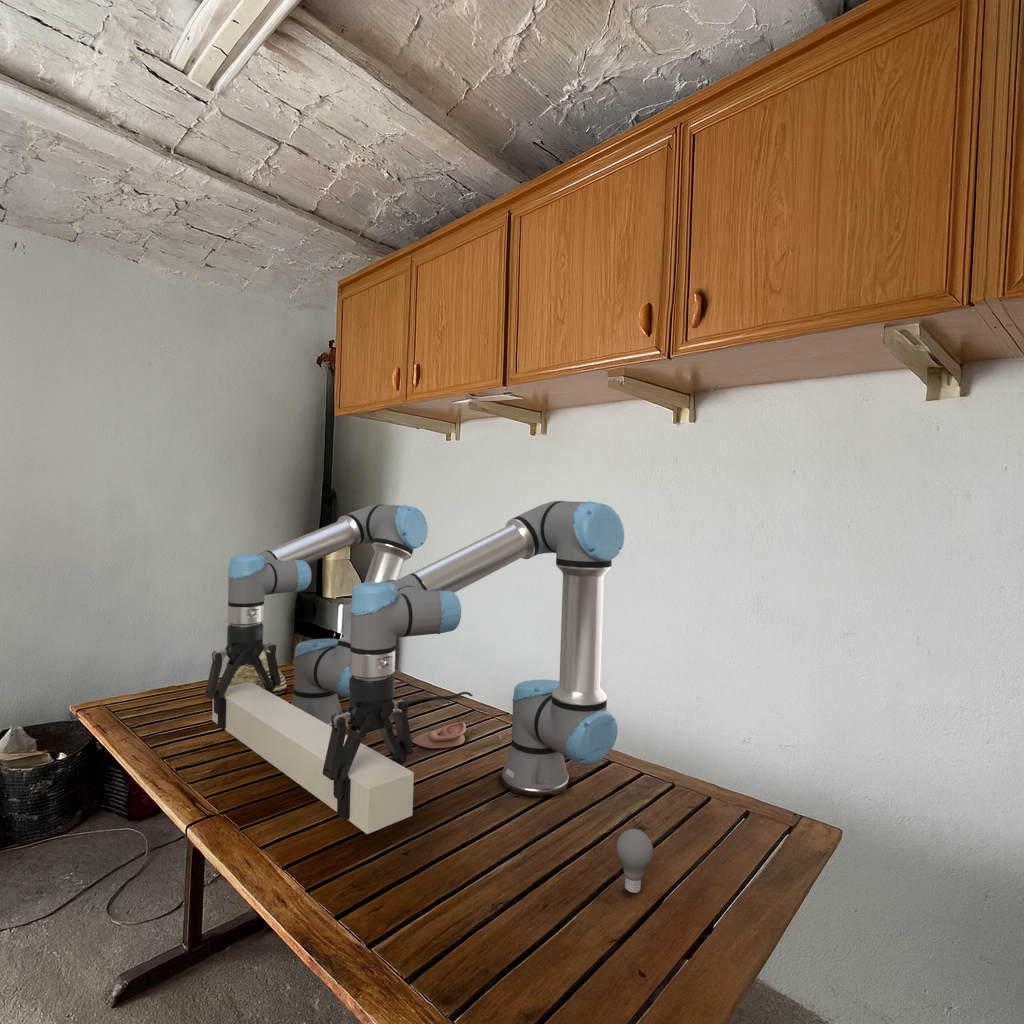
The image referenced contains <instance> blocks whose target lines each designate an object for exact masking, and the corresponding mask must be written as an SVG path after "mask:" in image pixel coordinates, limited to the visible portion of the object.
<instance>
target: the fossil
mask: <svg viewBox="0 0 1024 1024" xmlns="http://www.w3.org/2000/svg"><path fill="white" fill-rule="evenodd" d="M259 657H260V659H261V661H262V665H263V667H264V669H265V671H266V673H267V675H268V677H269V679H270V681H271V677H270V672H269V667H268V663H267V658H266V653H265V652H264V650H263V652H262V653H261V655H260V656H259ZM228 661H229V659H228V660H227V663H228ZM227 663H226V666H225V668H224V671H225V670H226V667H227ZM278 670H279V676H280V681H281V684H280V685H279V686H275V689H274V690H273V691H272V694H274V695H276V696H277V695H281V694H284V693H285V691H286V689H287V687H288V686H287V680H286V678H285V676H284V674H283V673H282V672H281V669H279V668H278ZM247 682H252V683H254V684H256V685H258V686H259V687H261V688H264V689H265V687H264V685H263V684H262V682H261V680H260V678H259V676H258V674H257V672H256V670H255V668H254V666H253V664H250V665H249V664H246V665H244V666H239V668H238V670H237V671H236V672H235V674H234V676H233V678H232V680H231V682H230V684H229V686H231V685H237V684H242V683H247Z"/></svg>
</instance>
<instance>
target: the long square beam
mask: <svg viewBox="0 0 1024 1024" xmlns="http://www.w3.org/2000/svg"><path fill="white" fill-rule="evenodd" d="M223 698H225V699H226V729H223V730H225V731H226V733H229V734H230V735H231V736H233V737H234V738H236V739H237V740H238V741H239V742H241V743H242V744H244V745H245V746H246V747H248V748H249V749H250V750H251V751H253V752H254V753H255V754H257V755H258V756H259V757H261V758H263V759H264V760H265V761H267V762H268V763H269V764H271V765H272V766H274V767H275V768H276V769H277V770H279V771H280V772H282V773H283V774H284V775H286V776H287V777H289V778H290V779H291V780H293V781H294V782H295V783H296V784H297V785H300V787H302V788H303V789H305V790H306V791H307V792H309V793H310V794H311V795H313V796H314V797H315V798H316V799H318V800H320V801H321V802H322V803H324V804H325V805H327V806H329V808H331V809H332V810H333V811H335V812H336V813H337V799H336V798H335V797H334V795H333V790H334V780H330V779H329V778H327V777H326V776H324V775H323V767H324V763H325V758H326V754H327V749H328V745H329V740H330V736H331V731H332V727H331V726H329V725H328V724H326V723H324V722H322V721H320V720H319V719H317V718H315V717H313V716H312V715H310V714H308V713H306V712H304V711H303V710H301V709H299V708H297V707H295V706H294V705H292V704H291V702H288V701H287V700H284V699H283V698H281V697H279V696H277V694H276V695H274V694H272V693H270V692H268V691H267V690H265V689H263V688H261V687H259V686H258V685H256V684H254V683H252V682H247V683H242V684H237V685H231V686H228V688H227V690H226V692H225V694H224V696H223ZM211 713H212V714H211V715H212V718H211V721H212V722H214V723H215V724H216V725H218V714H216V713H215V712H214V699H212V712H211ZM347 736H348V734H346V736H345V740H344V744H345V741H346V739H347ZM343 746H344V745H343ZM391 759H392V758H391ZM391 759H389V757H387V756H385V755H384V754H382V753H380V752H378V751H376V750H375V749H373V748H370V747H369V746H367V745H365V744H363V743H362V742H361V743H360V746H359V748H358V750H357V753H356V755H355V758H354V760H353V763H352V765H351V767H350V770H349V772H348V775H347V777H348V778H349V779H351V787H350V819H347V820H346V821H348V822H350V823H351V824H352V825H354V826H355V827H357V828H358V829H359V830H360V831H362V832H363V833H365V834H366V835H369V834H371V833H375V832H376V831H379V830H381V829H384V828H386V827H388V826H390V825H393V824H396V823H399V822H400V821H403V820H405V819H408V818H410V817H412V816H413V811H414V809H413V808H414V807H413V806H414V782H415V780H414V779H415V772H414V771H412V770H410V769H409V768H406V767H405V766H403V765H402V766H401V765H399V764H398V763H396V762H394V761H392V760H391Z"/></svg>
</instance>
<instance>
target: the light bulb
mask: <svg viewBox="0 0 1024 1024" xmlns="http://www.w3.org/2000/svg"><path fill="white" fill-rule="evenodd" d="M615 849H616V854H617V857H618V859H619V861H620V863H621V865H622V867H623V873H624V874H623V875H624V876H625V878H624V888H625V890H627V891H628V892H630V893H634V894H635V893H639V892H640V891H641V889H642V887H641V886H642V879H643V877H644V875H645V871H646V868H647V867H648V866H649V864H650V863H651V861H652V859H653V855H654V847H653V843H652V841H651V838H649V836H648V835H647V834H646V833H645V832H643V831H642V830H641V829H636V828H629V829H627V830H625V831H623V832H622V833H621V834H620V835H619V837H618V839H617V841H616V847H615Z"/></svg>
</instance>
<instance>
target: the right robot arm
mask: <svg viewBox="0 0 1024 1024" xmlns="http://www.w3.org/2000/svg"><path fill="white" fill-rule="evenodd" d="M624 543H625V527H624V524H623V521H622V519H621V517H620V515H619V514H618V513H617V512H616V510H615V509H613V508H612V507H611V506H610V505H607V504H605V503H600V502H596V501H591V500H589V501H570V500H569V501H568V500H553V501H549V502H546V503H543V504H541V505H538V506H536V507H534V508H531V509H530V510H529V509H528V510H527V511H525V512H523V513H521V514H519V515H517V516H515V517H512V518H511V519H509V520H508V521H507V522H506V524H505V527H502V528H501V529H499V530H497V531H494V532H493V533H491V534H489V535H487V536H484V537H483V538H481V539H478V540H476V541H475V542H473V543H470V544H469V545H466V546H464V547H462V548H460V549H458V550H456V551H454V552H452V553H450V554H447V555H446V556H444V557H441V558H440V559H437V560H436V561H433V562H431V563H430V564H428V565H426V566H423V567H422V568H419V569H418V570H416V571H414V572H411V573H409V574H407V575H404V576H402V577H401V578H400V577H399V579H398V580H383V581H381V582H366V583H364V582H361V583H358V584H357V585H355V586H354V587H353V589H352V594H351V603H350V610H349V611H350V612H349V614H350V623H351V646H350V665H349V673H350V674H351V675H352V676H351V677H350V678H349V698H348V699H349V700H348V701H349V706H348V708H347V709H346V710H347V712H346V713H343V714H341V715H337V714H333V715H332V717H331V723H332V731H331V736H330V740H329V745H328V749H327V754H326V758H325V763H324V767H323V775H324V776H326V777H327V778H329V779H330V780H334V790H333V795H334V797H335V798H336V799H337V812H336V815H338V816H339V817H340V818H342V819H343V820H345V821H348V820H347V819H350V787H351V779H349V778H348V777H347V775H348V772H349V770H350V767H351V765H352V763H353V760H354V758H355V755H356V753H357V750H358V748H359V746H360V743H362V741H363V740H365V738H366V736H367V734H368V733H371V732H373V731H379V733H380V735H381V738H382V739H383V741H384V744H385V746H386V748H387V751H388V753H389V756H390V757H391V758H389V757H388V758H389V759H391V760H392V761H394V762H396V763H398V764H399V765H401V766H403V764H405V763H406V762H407V761H408V760H407V759H408V757H407V756H411V755H412V754H413V752H414V749H413V744H412V743H413V742H412V738H411V730H410V726H409V725H410V724H409V719H408V710H409V704H408V702H409V701H406V700H404V699H401V698H399V697H398V698H396V699H395V700H394V699H393V698H394V697H395V686H396V685H395V682H396V678H395V676H394V673H395V671H396V648H397V638H405V637H406V638H408V637H418V636H428V635H441V634H446V633H449V632H453V631H456V629H457V628H458V627H459V625H460V623H461V621H462V605H461V601H460V598H459V596H458V595H457V594H456V593H457V592H459V591H461V590H463V589H465V588H467V587H468V586H470V585H472V584H474V583H477V582H478V581H480V580H482V579H483V578H486V577H487V576H489V575H492V574H493V573H495V572H497V571H499V570H500V569H502V568H505V567H506V566H508V565H510V564H512V563H515V562H517V561H518V560H520V559H523V560H530V559H532V558H534V557H536V556H538V555H543V554H556V555H555V566H556V567H557V568H558V569H559V571H560V572H561V574H562V586H561V587H562V589H561V590H562V592H561V617H560V618H561V619H560V620H561V622H560V648H559V649H560V651H559V680H557V679H556V680H555V679H531V680H530V679H529V680H524V681H521V682H519V683H517V684H516V685H515V687H514V688H513V689H514V690H513V697H512V715H511V717H512V719H511V720H512V722H511V745H510V749H509V752H508V754H507V757H506V760H505V763H504V766H503V767H502V770H501V782H502V784H503V786H504V787H505V788H507V789H508V790H510V791H511V792H514V793H516V794H519V795H522V796H528V797H536V798H537V797H541V798H542V797H551V796H555V795H559V794H561V793H563V792H564V791H566V790H567V789H568V787H569V777H570V776H569V772H568V769H567V765H566V760H565V757H567V759H568V760H569V761H571V762H576V763H578V764H580V765H583V766H592V765H596V764H598V763H600V762H601V761H602V760H604V759H605V758H606V757H607V756H608V754H609V753H610V752H611V751H612V749H613V747H614V745H615V743H616V741H617V736H618V729H619V728H618V722H617V720H616V718H615V716H614V715H613V714H612V713H611V712H609V710H607V709H608V708H607V704H608V695H607V693H605V691H604V690H603V689H602V688H601V673H602V672H601V670H602V642H603V641H602V640H603V615H604V613H603V612H604V584H605V583H604V582H605V581H604V580H605V575H606V573H608V572H609V571H610V570H611V569H612V565H613V564H612V563H613V561H612V560H613V559H616V557H617V556H619V554H620V550H622V549H623V548H624ZM392 710H393V711H392ZM392 713H393V720H394V726H395V732H396V733H395V732H394V730H393V728H394V726H393V724H392V722H391V720H390V716H391V715H392ZM349 721H350V725H349ZM347 728H348V730H347ZM346 735H347V739H346V741H345V744H344V740H345V736H346ZM343 745H344V746H343Z"/></svg>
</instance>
